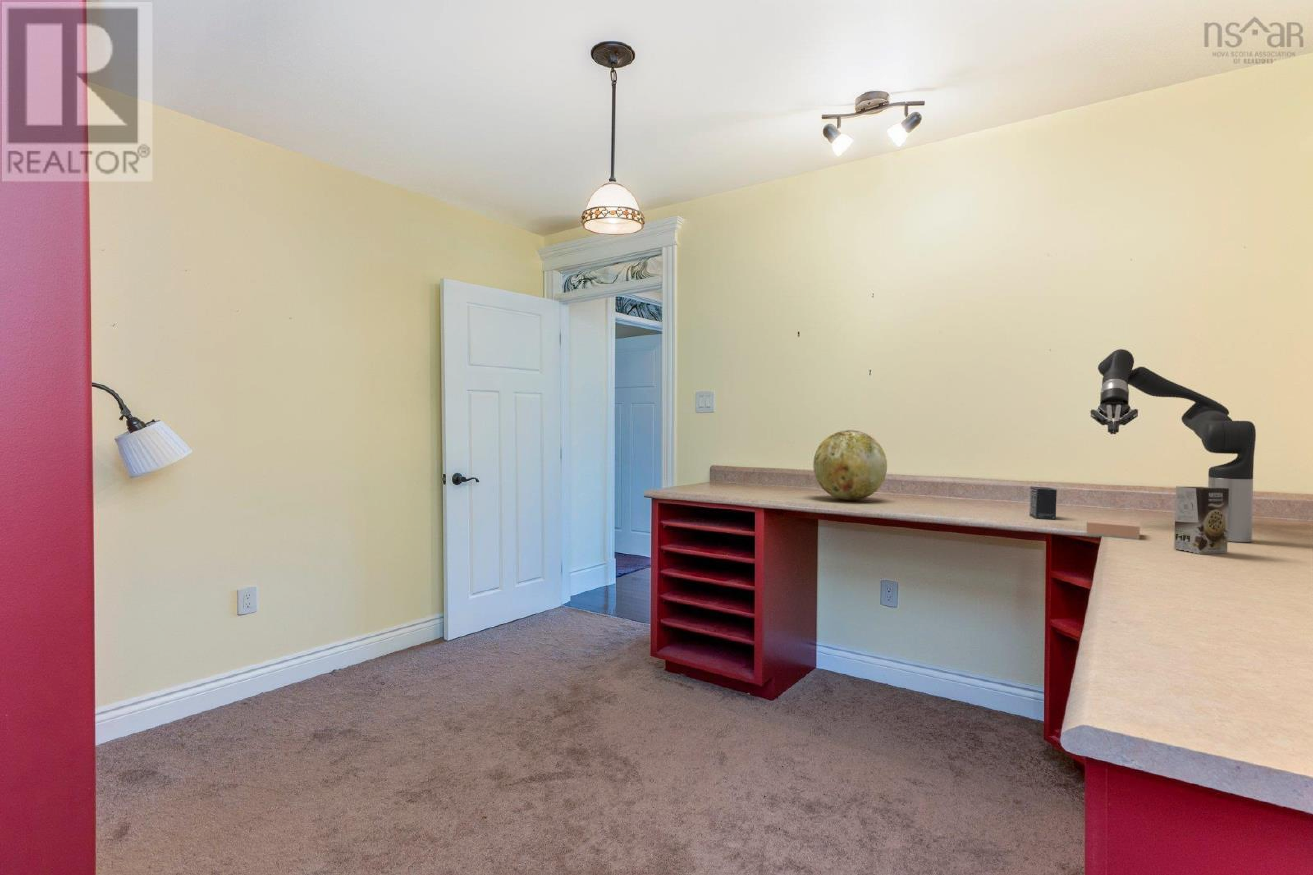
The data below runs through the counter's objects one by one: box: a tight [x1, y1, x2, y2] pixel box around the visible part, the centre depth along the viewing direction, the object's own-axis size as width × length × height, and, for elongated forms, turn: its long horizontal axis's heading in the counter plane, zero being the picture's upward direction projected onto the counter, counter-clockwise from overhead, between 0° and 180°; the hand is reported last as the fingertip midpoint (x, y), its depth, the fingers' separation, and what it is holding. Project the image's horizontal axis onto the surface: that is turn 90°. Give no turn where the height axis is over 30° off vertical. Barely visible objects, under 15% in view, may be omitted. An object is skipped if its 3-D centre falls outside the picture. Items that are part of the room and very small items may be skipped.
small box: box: [1028, 486, 1058, 520], centre depth 218 cm, size 11×6×10 cm, turn 160°
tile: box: [1086, 518, 1141, 540], centre depth 181 cm, size 4×12×12 cm
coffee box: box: [1173, 486, 1229, 555], centre depth 155 cm, size 9×6×16 cm
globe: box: [812, 429, 888, 502], centre depth 266 cm, size 30×30×30 cm
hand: (1113, 432), depth 196 cm, fingers closed
